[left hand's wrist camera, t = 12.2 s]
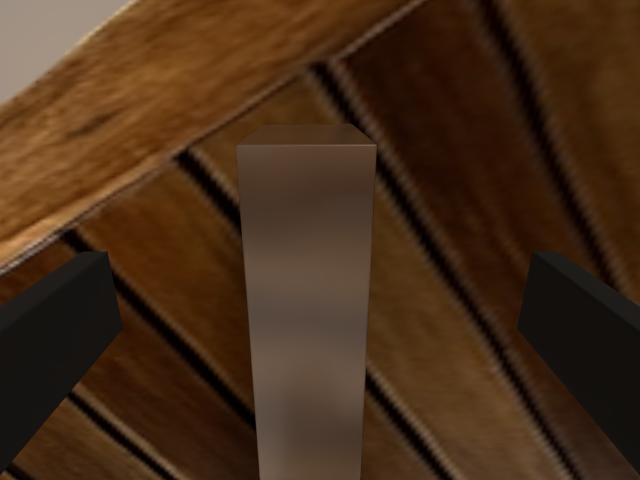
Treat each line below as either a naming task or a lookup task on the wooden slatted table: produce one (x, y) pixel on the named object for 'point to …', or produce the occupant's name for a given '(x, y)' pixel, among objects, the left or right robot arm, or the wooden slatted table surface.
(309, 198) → the plank
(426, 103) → the wooden slatted table surface
